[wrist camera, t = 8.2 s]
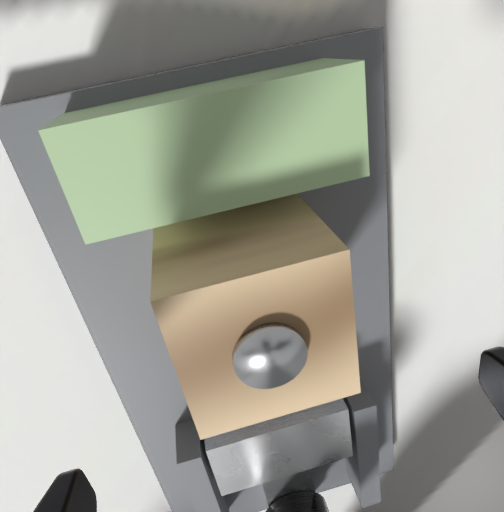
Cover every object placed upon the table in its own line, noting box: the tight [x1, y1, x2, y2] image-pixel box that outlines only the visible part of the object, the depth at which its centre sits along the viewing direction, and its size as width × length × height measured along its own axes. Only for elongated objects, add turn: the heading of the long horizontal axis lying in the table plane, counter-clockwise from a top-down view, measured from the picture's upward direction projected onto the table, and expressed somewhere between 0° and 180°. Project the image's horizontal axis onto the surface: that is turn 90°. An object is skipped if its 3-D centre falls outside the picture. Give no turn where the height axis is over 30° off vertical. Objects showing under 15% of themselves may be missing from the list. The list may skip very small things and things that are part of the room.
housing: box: [150, 194, 361, 440], centre depth 13 cm, size 5×5×5 cm
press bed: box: [0, 27, 393, 512], centre depth 17 cm, size 22×12×4 cm, turn 10°
